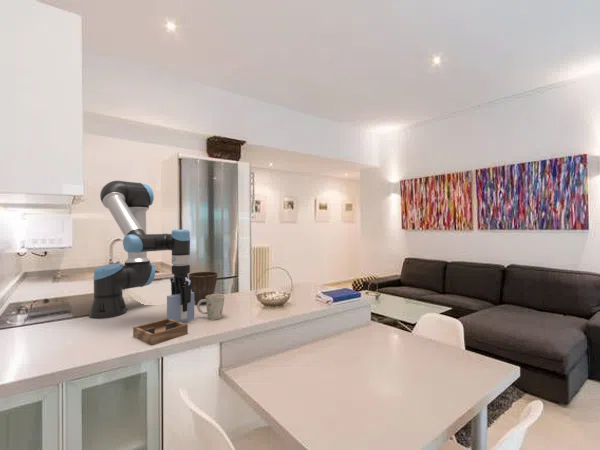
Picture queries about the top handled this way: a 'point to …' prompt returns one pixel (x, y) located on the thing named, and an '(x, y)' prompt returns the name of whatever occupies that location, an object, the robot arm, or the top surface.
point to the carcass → (160, 331)
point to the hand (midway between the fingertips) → (181, 317)
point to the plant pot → (203, 285)
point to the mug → (213, 306)
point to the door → (174, 308)
